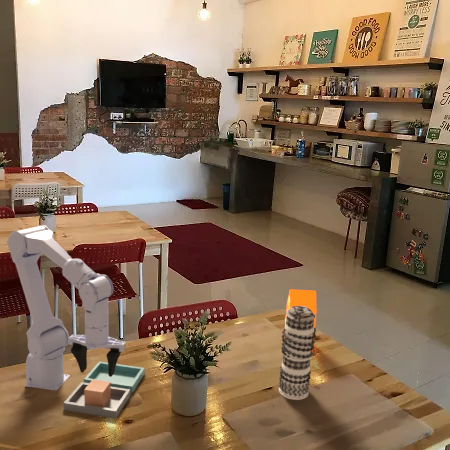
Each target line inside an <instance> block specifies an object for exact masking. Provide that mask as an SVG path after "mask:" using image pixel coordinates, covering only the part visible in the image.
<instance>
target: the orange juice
mask: <svg viewBox="0 0 450 450" xmlns="http://www.w3.org/2000/svg"><path fill="white" fill-rule="evenodd" d="M293 306H305V307H308V308H309V309H311V310H312V312H313V313H314V314H315V316H316V317H315V318H314V327H315V328H316V323H317V312H318V311H317V290H309V289H308V290H307V289H289V291H288V296H287V301H286V308H285V309H286V310H285V312H286V311H287V310H289V309H290V308H291V307H293ZM286 317H287V315H286V314H285V318H286ZM284 321H285V322H286V319H284ZM285 322H284V323H285ZM285 333H286V332H285ZM312 336H313V335H312ZM284 339H285V338H284ZM313 351H314V349H313V350H312V353H313Z"/></svg>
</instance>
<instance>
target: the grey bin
mask: <svg viewBox="0 0 450 450" xmlns="http://www.w3.org/2000/svg"><path fill="white" fill-rule="evenodd" d="M88 385H89V383H84V381H83V382H82V381H81V382H80V383H79V384H78V385H77V386H76V388H75V389H74V390H73V391H72V392H71V393H70V394H69V396H68V397H67V398H66V400H64V402H63V411H67V412H71V413H72V412H73V413H78V414H79V413H80V414H86V415H92V416H96V417H98V416H99V417H104V418H111V419H117V418H118V416H119V415H120V413H121V411H122V410H123V408H124V407H125V405H127V402H128V401H129V399H130V398H131V393H130V389H124V388H117V387H111V399H110V401H109V402H108V403H107V405H106V406H105V407H99V406H92V405H86V404H85V399H84V389H85V388H86V387H87V386H88Z"/></svg>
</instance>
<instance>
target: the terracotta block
mask: <svg viewBox="0 0 450 450" xmlns="http://www.w3.org/2000/svg"><path fill="white" fill-rule="evenodd" d="M84 399H85V404H86V405H92V406H99V407H105V406H106V405H107V403H108V402H109V401H110V399H111V382H107V381H100V380H94V379H93V380H92V381H91V382H90V383H89V385H88V386H87V387H86V388H85V389H84Z"/></svg>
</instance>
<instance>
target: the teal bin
mask: <svg viewBox="0 0 450 450" xmlns="http://www.w3.org/2000/svg"><path fill="white" fill-rule="evenodd" d="M145 372H146V369H145V367H141V366H134V365H133V366H132V365H127V364H119V363H116V367H115V372H114V374H113V375H112V377H110V376H109V374H108V362H106V361H105V362H104V361H98V362H97V363H96V365H95V366H94V367H92V369H91V370H90V372H89V373H88V374H86V376H85V377H84V378H83V382H84V383H90V382H91V381H92V380H93V379H94V380H100V381H107V382H111V387H117V388H124V389H130V394H133V393H134V391H135V390H136V388H137V387H138V385H139V384H140V382H141V380H142V379H143V377H144V376H145Z"/></svg>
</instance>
